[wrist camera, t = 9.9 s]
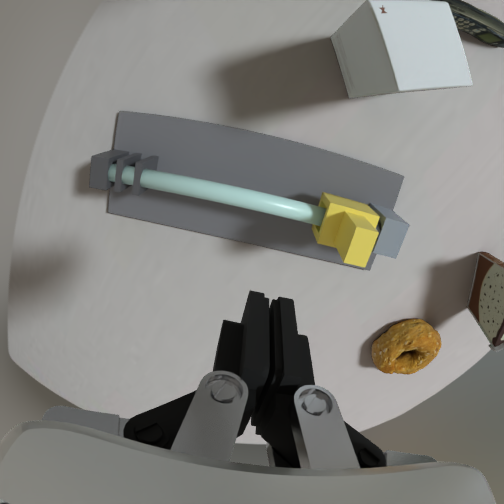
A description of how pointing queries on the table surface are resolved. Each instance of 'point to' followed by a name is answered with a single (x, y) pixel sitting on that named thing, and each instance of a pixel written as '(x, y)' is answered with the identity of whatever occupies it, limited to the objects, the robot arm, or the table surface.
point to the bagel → (406, 347)
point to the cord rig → (239, 184)
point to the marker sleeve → (347, 228)
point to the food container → (489, 298)
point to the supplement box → (400, 48)
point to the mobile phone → (477, 22)
